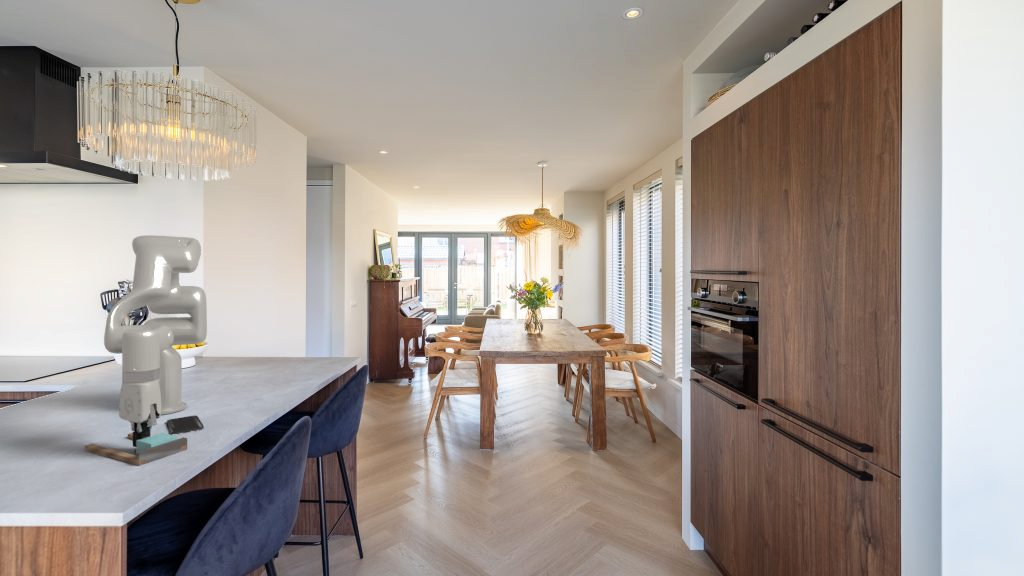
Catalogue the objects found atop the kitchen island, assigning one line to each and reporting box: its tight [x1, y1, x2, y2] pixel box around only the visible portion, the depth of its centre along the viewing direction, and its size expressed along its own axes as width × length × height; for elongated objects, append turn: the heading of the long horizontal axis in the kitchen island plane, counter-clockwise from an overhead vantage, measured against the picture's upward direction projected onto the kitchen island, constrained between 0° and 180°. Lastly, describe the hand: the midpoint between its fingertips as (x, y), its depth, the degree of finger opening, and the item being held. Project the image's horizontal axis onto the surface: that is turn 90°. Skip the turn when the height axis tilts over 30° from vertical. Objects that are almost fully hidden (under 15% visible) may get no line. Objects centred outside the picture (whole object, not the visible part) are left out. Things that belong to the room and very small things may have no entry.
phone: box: [166, 415, 205, 435], centre depth 134 cm, size 8×1×15 cm
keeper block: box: [135, 432, 178, 453], centre depth 113 cm, size 6×6×4 cm
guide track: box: [84, 432, 188, 467], centre depth 115 cm, size 23×11×3 cm, turn 69°
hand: (141, 445), depth 114 cm, fingers closed
